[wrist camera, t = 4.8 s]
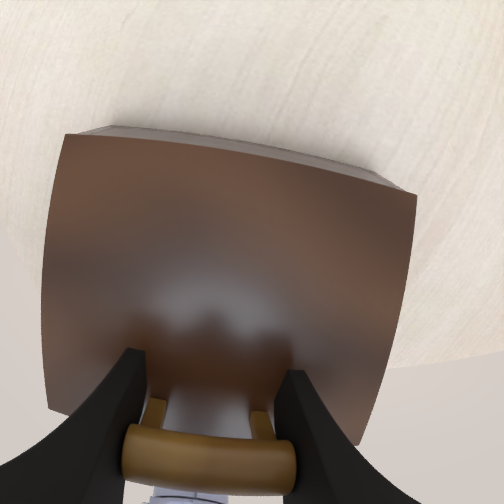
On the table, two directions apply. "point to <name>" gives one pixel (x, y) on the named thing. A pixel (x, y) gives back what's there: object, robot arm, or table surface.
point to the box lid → (218, 299)
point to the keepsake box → (241, 149)
